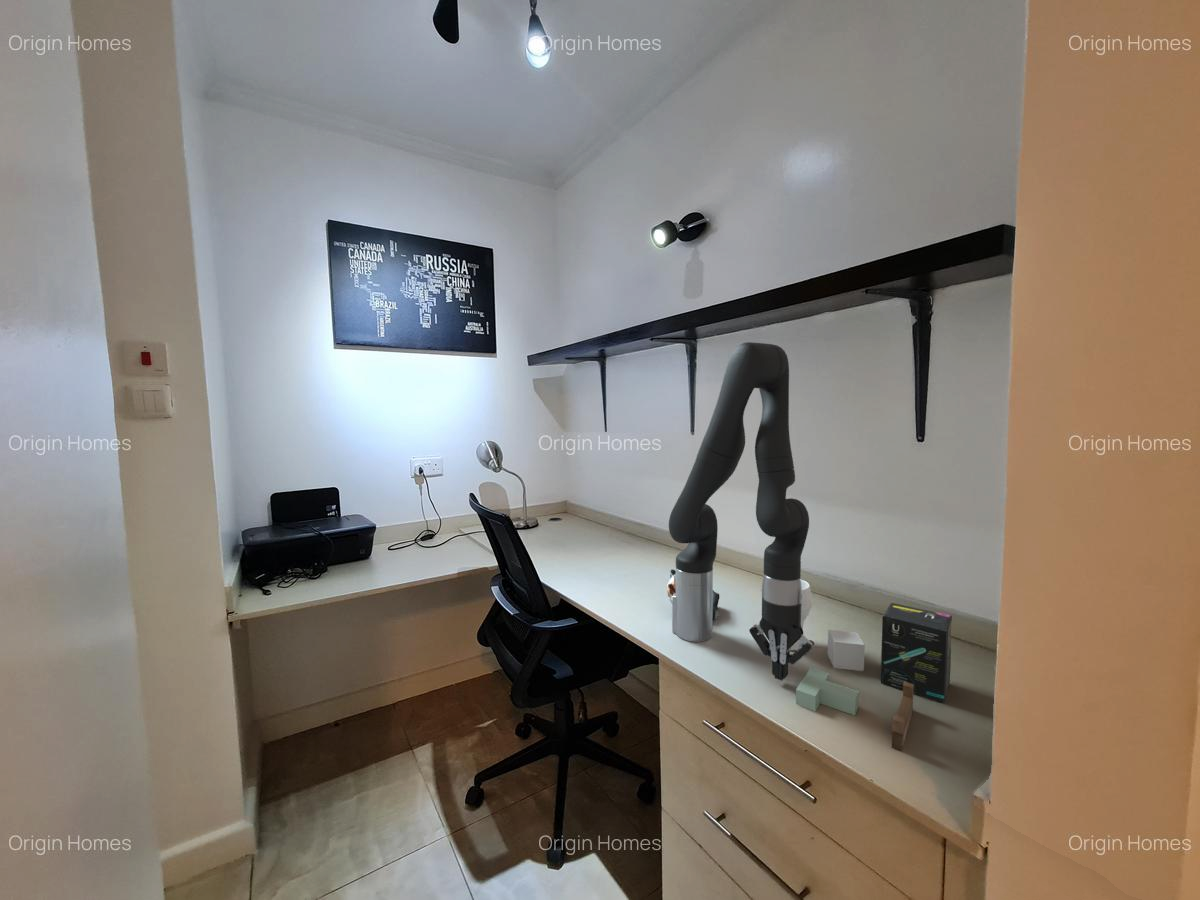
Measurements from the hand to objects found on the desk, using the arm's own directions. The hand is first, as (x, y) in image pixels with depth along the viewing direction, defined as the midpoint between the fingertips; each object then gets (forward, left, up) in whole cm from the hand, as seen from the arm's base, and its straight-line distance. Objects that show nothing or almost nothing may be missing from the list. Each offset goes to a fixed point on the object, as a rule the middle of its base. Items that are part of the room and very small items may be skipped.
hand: (780, 677), depth 96 cm
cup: (-5, +19, -1) cm, 19 cm away
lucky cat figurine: (-30, +19, -2) cm, 36 cm away
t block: (+9, 0, -1) cm, 9 cm away
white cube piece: (+8, +18, -2) cm, 20 cm away
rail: (+21, 0, -1) cm, 21 cm away
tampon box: (+21, +18, -2) cm, 28 cm away
